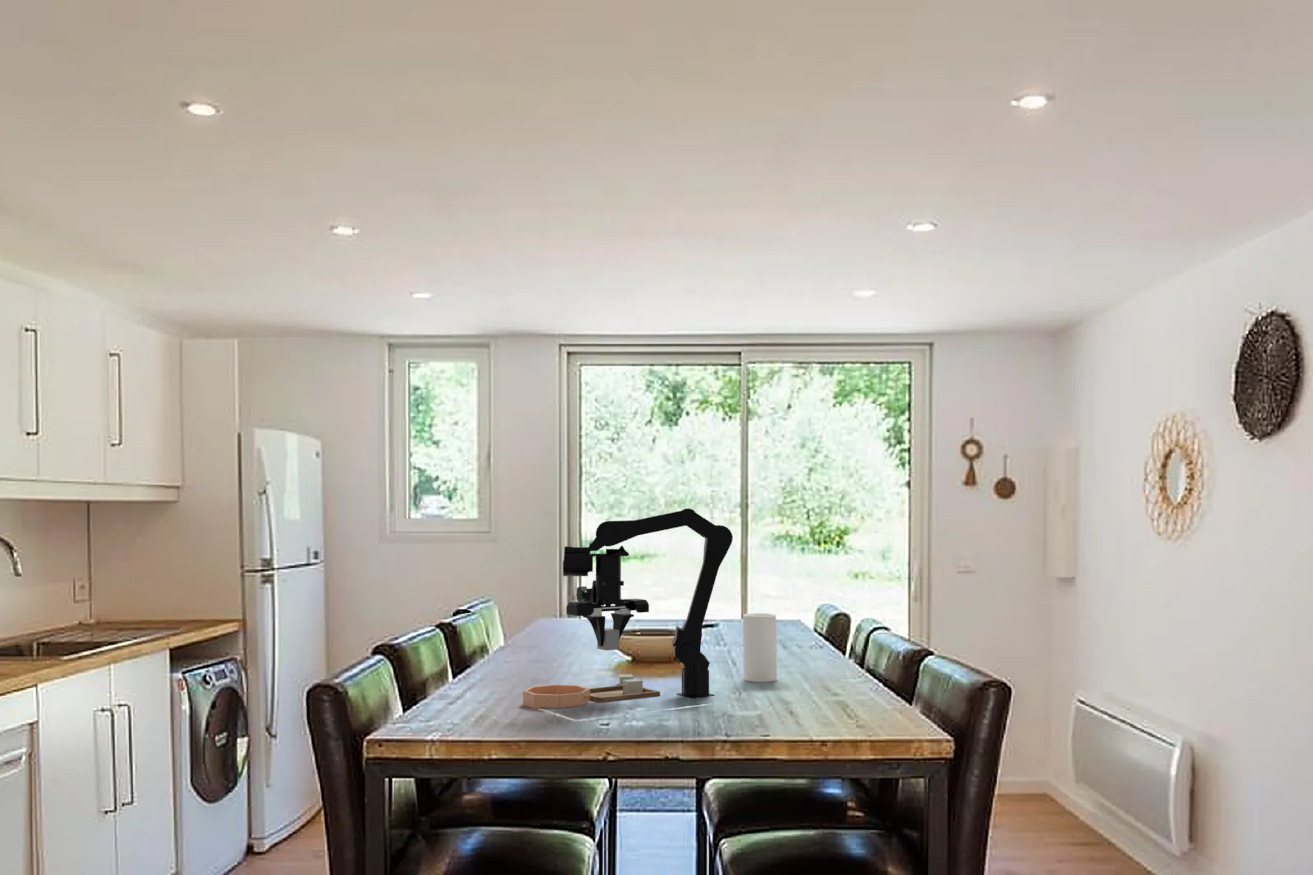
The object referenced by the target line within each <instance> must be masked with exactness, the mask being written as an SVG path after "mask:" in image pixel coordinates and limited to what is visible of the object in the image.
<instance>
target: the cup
mask: <svg viewBox="0 0 1313 875" xmlns="http://www.w3.org/2000/svg"><path fill="white" fill-rule="evenodd" d="M742 622H743V623H742V626H743V627H742V631H743V632H742V635H743V637H742V638H743V640H742V641H743V642H742V645H743V648H742V649H743V680H744V681H745V682H746V681H747V682H753V683H755V682H756V683H770V682H775V681H777V680H778V679H777V678H778V673H777V672H778V670H777V667H778V665H777V664H778V663H777V660H778V658H777V654H778V653H777V615H776V614H774V613H768V612H767V613H765V612H764V613H762V612H760V613H758V612H757V613H756V612H755V613H754V612H753V613H744V614H743V615H742Z"/></svg>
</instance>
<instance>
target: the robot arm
mask: <svg viewBox="0 0 1313 875" xmlns="http://www.w3.org/2000/svg"><path fill="white" fill-rule="evenodd" d="M681 527H682V528H683V527H688V529H689V528H690V530H692V531H693V532H695V533H696V534H698V535H699V536H700V537H702V538H704V545H703V546H704V547H703V558H702V564H701V567H700V568H701V569H700V571H699V575H698V577H697V578H698V579H697V582H696V585H695V589H694V592H693V596H692V600H691V603H690V606H689V608H688V613H687V617H686V619H685V622H684V623H683V625H682V626H681V627H680V626H678V625H676V626H675V633H674V637H673V639H672V640H671V646H672V649H673V651H672V652H673V654H674V657H675V658H676V660H677V661H678V662H679V663H680V664H683V667H682V668H681V692H678V693H676V695H677V696H681V697H684V698H685V697H686V698H689V699H699V698H706V697H715V696H716V694H713V693H710V670H709V668H710V664H711V663H710V661H709V660H708V657H706V655H705V654H703V652H701V649H702V648H701V646H702V638H703V636H702V635H703V625H704V621H705V617H706V614H707V610H708V608H709V603H710V600H711V598H712V593H713V591H714V590H713V589H714V586H715V584H716V579H717V576H718V572H719V568H720V566H721V564H722V563H723V561H724V559H725V558H726V556H727V553H728V552H729V549H730V548H731V545H732V543H733V538H734V537H733V533H732V532H731V529H729V528H728V527H727V526H725V525H720V524H714V523H712V521H709V520H708V519H707V518H705V517H703V516H702V515H700V514H698V513H697V512H696V511H695V510H694V509H692V508H691V507H690V508H689V507H688V508H684V509H682V510H678V511H672V512H668V513H664V514H657V515H654V516H649V517H648V516H647V517H644V518H640V519H635V520H628V519H627V520H626V519H625V520H606V521H604V522H601V523H600V524H599V525H598V526H597V528H596V530H595V537H594V538H593V541H592V542H589V546H570V545H566V546H564V548H563V549H564V551H563V552H564V553H563V560H562V576H563V577H589V573H591V572H594V557H595V580H592V584H591V586H592V587H590V588H588V587H587V586H585V585H584V586H583V585H581V586H578V587H577V588H576V601H569V602H568V604H567V605H566V613H565V614H566V615H568V616H574V617H582V618H585V619H587V620H588V621H589V623H590V625H591V627H592V630H593V632H594V635H595V638H596V641H598V644H599V646H601V647H602V646H603V642H604V631H605V628H606V616H605V615H603V612H610V615H611V618H612V621H613V622H612V623H613V624H612V629H618V630H619V641H620V639H621V637H622V635H623V633H624V630H625V628H626V627H627V625H628V623H629V621H630V619H631V618H634V617H635V614H633V613H632V611H636V613H638V614H639V613H640V614H641V613H649V612H650V603H649V602H648V600H647V599H643V598H622V595H621V593H622V591H621V590H622V586H624V585H625V581H624V580H622V557H629V556H630V554H629V552H628V550H626V549H625V548H624V546H623V545H620V547H619V548H605V552H603V553H591V552H598V551H599V550H600V549H602V548H604V547H613V546H615V545H619V544H621V543H623V542H626V541H628V540H630V539H633V538H635V537H638V536H642V535H648V534H651V533H657V532H662V531H666V530H670V529H676V528H681Z"/></svg>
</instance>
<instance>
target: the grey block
mask: <svg viewBox="0 0 1313 875" xmlns="http://www.w3.org/2000/svg"><path fill="white" fill-rule="evenodd" d="M596 641H597V640H596ZM596 646H597V647H596V648H597V649H598V650H603V651H614V650H615V651H616V650H618V651H619V650H620V640H619V630H618V629H613V627H608V628H606V627H605V631H604V642H603V646H602V647H601V646H599V644H598V641H597V643H596Z"/></svg>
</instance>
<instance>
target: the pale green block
mask: <svg viewBox="0 0 1313 875" xmlns="http://www.w3.org/2000/svg"><path fill="white" fill-rule="evenodd" d="M629 679H634V676H633V674H630V673H629V674H627V673H625V674H618V685H623V680H629Z"/></svg>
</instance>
